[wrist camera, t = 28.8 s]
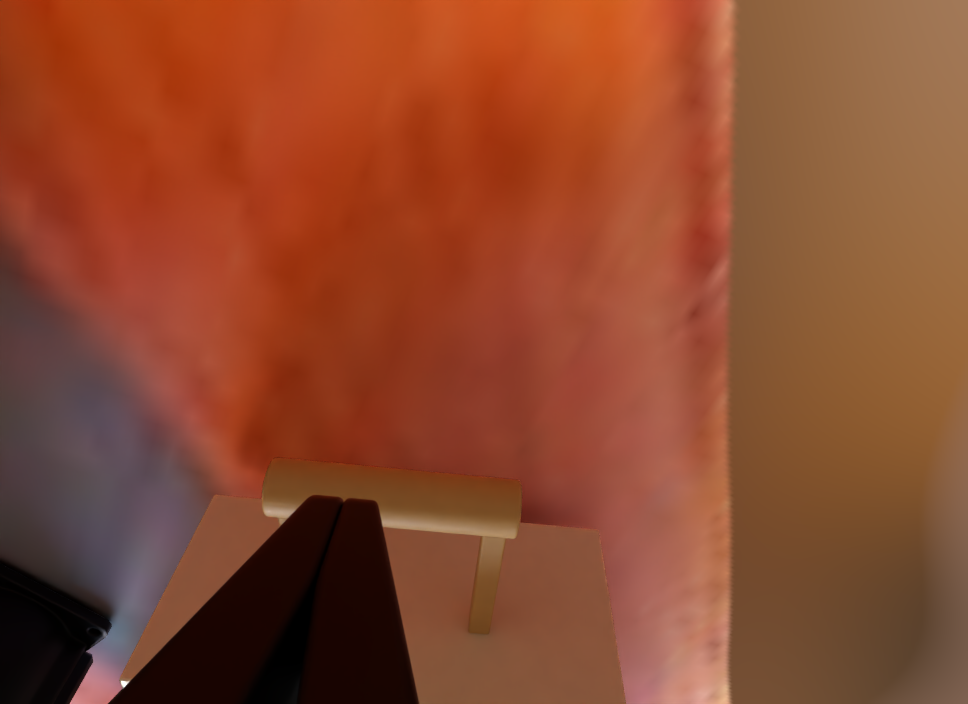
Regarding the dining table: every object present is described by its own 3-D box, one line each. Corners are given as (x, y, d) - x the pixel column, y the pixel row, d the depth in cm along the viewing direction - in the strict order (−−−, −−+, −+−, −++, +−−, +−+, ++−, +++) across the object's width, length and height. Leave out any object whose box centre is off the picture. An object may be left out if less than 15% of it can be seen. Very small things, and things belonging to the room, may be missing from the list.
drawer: (188, 356, 18) (59, 530, 13) (637, 400, 19) (689, 585, 13) (253, 707, 29) (196, 882, 23) (539, 730, 29) (547, 907, 24)
